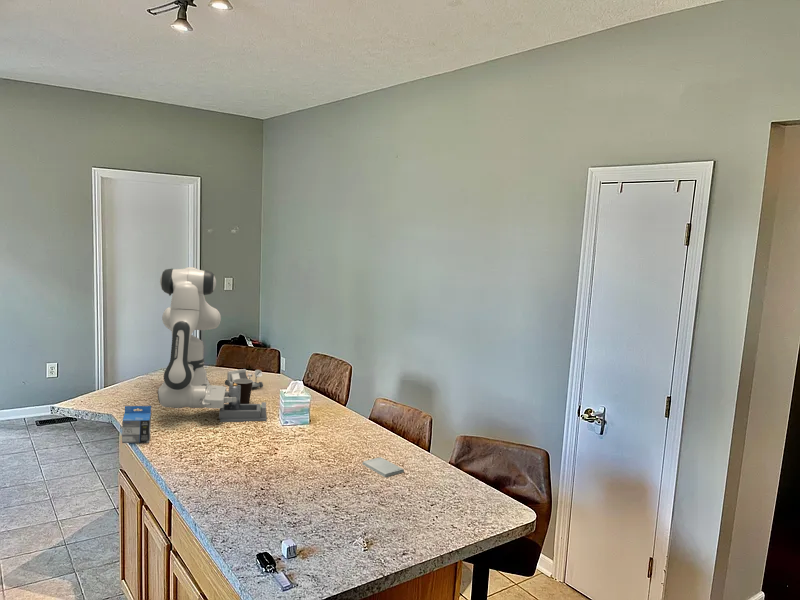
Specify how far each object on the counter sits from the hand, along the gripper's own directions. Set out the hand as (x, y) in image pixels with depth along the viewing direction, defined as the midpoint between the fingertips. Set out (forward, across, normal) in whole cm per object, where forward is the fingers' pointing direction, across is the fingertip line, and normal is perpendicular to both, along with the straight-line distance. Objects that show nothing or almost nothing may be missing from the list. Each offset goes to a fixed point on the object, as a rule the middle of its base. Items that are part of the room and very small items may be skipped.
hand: (236, 397), depth 234 cm
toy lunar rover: (+3, +47, +9) cm, 48 cm away
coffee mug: (+2, +21, +9) cm, 23 cm away
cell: (-1, 0, +6) cm, 7 cm away
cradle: (+3, 0, +8) cm, 9 cm away
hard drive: (+50, -55, +9) cm, 75 cm away
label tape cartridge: (-33, -26, +9) cm, 43 cm away
